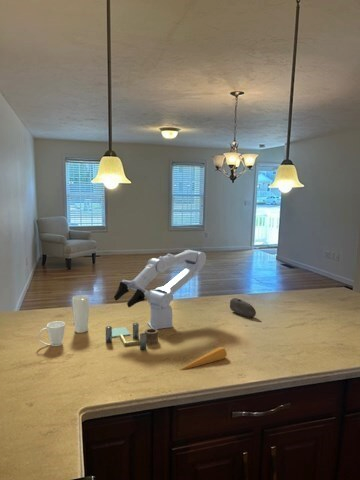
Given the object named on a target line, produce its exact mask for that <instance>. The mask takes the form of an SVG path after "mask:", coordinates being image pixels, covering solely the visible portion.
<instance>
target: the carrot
mask: <svg viewBox="0 0 360 480" xmlns="http://www.w3.org/2000/svg"><path fill="white" fill-rule="evenodd" d="M227 356H228V353H227V350H226V348H224V347H223V346H220V347H217V348H214V349H213V350H211V351H210V352H209V351H208V353H206V354H204V355H202V356H200V357H199V358H197V359H195V360H194V361H191V362H189V364H186V365H185V366H184V367H181V369H179V371H183V370H187V369H192V368H195V367H198V366H199V367H200V366H202V365H206V363H207V364H210V363H214V362H217V360H218V361H221V360H224V359H225V358H226V357H227ZM213 361H214V362H213Z"/></svg>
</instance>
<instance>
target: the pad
mask: <svg viewBox="0 0 360 480" xmlns="http://www.w3.org/2000/svg"><path fill="white" fill-rule="evenodd" d="M120 335H123V337H126V336H131V333H130V331H129V330H128V329H127V327H126V326H125V327H123V326H122V327H115V328H112V339H113V338H120Z"/></svg>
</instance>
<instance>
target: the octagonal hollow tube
mask: <svg viewBox="0 0 360 480" xmlns="http://www.w3.org/2000/svg"><path fill="white" fill-rule="evenodd" d="M144 333H146V345H156V344H158V343H159V329H153V328H151V327H150V328H146V329H145V330H144Z"/></svg>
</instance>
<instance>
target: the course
mask: <svg viewBox="0 0 360 480" xmlns="http://www.w3.org/2000/svg"><path fill="white" fill-rule="evenodd" d="M139 326H140V323H138V322H133V323H132V339H133V340H131V341H126V338H125V336H123V335H120V337H119V339H120V340H121V341H122V344H123V345H124V347H127V346H133V345H139V350H140V351H146V350H147V344H146V333H145V332H141V333H139ZM112 329H113V327H112V326H110V325H107V326H106V327H105V343H106V344H110V343H112V342H113V338H112ZM138 339H139V340H138Z"/></svg>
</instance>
